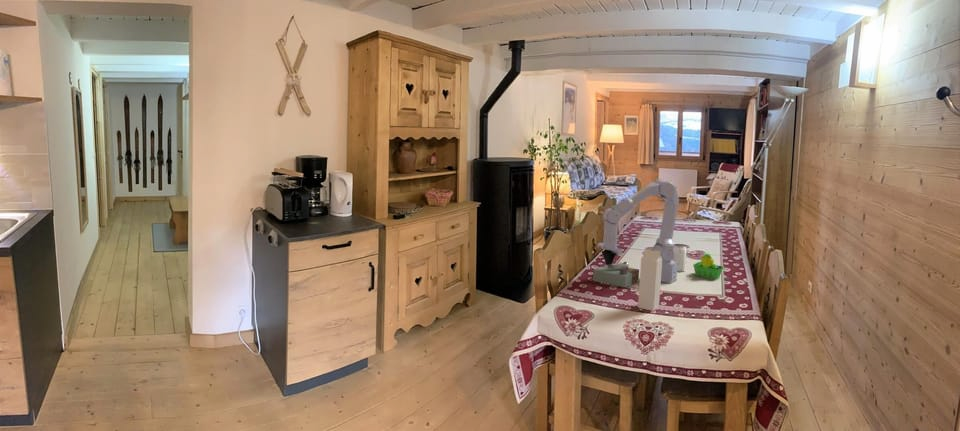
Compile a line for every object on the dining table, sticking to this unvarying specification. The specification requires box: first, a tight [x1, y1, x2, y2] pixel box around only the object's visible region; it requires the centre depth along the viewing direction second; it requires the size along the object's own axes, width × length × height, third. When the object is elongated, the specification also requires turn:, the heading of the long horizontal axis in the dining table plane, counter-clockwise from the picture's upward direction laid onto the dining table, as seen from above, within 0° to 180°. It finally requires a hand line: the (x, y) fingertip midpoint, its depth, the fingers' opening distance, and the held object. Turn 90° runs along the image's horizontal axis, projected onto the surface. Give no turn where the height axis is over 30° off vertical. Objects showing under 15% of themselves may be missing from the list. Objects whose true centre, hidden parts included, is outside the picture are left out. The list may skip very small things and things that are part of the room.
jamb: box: [600, 264, 640, 285], centre depth 244 cm, size 15×6×5 cm, turn 51°
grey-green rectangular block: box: [592, 266, 633, 288], centre depth 239 cm, size 15×6×7 cm, turn 51°
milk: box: [637, 249, 662, 312], centre depth 207 cm, size 6×6×22 cm
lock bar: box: [604, 261, 630, 270], centre depth 240 cm, size 11×3×3 cm, turn 109°
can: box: [672, 243, 687, 273], centre depth 259 cm, size 6×6×12 cm
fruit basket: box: [692, 253, 725, 280], centre depth 249 cm, size 11×9×11 cm
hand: (608, 267), depth 241 cm, fingers closed
